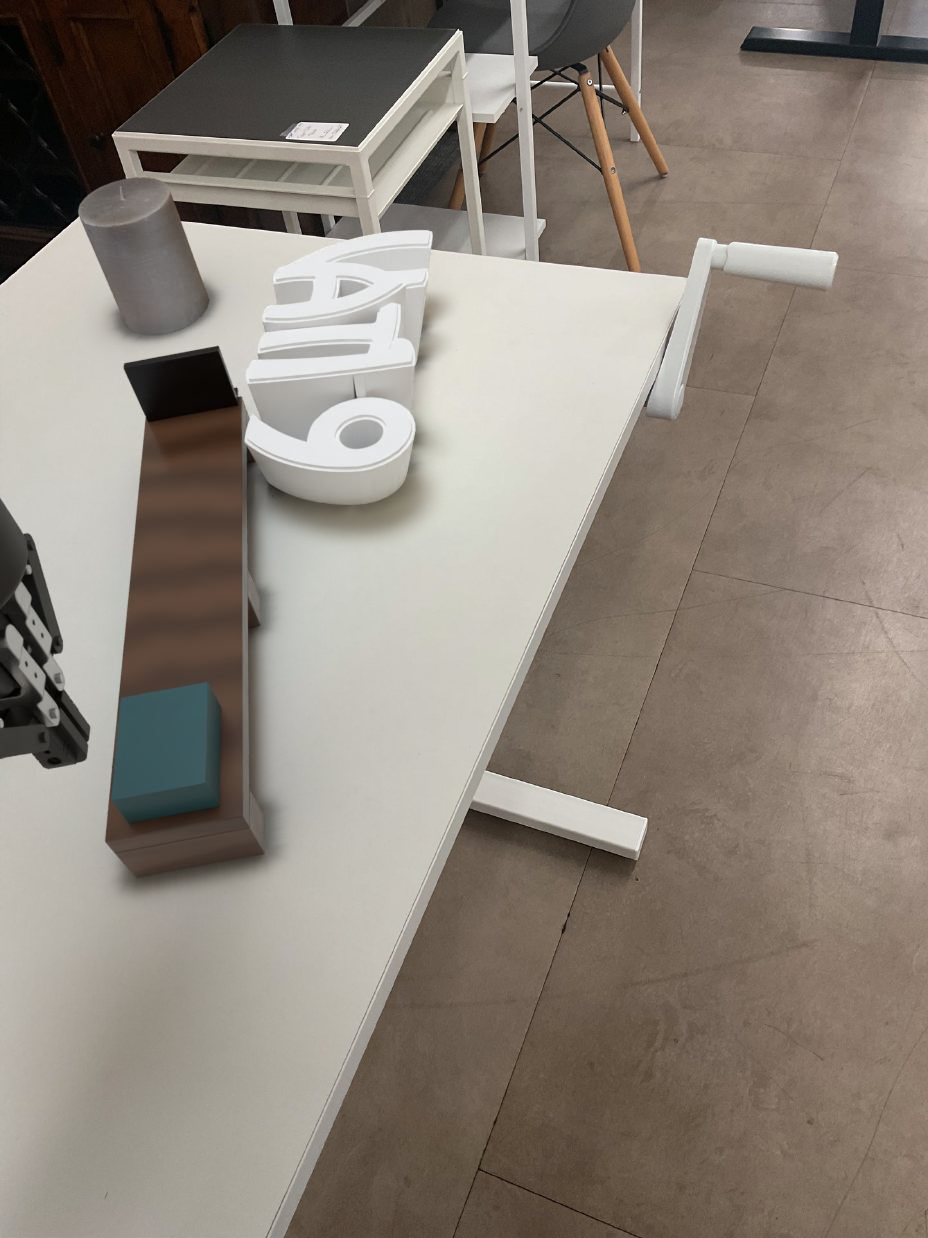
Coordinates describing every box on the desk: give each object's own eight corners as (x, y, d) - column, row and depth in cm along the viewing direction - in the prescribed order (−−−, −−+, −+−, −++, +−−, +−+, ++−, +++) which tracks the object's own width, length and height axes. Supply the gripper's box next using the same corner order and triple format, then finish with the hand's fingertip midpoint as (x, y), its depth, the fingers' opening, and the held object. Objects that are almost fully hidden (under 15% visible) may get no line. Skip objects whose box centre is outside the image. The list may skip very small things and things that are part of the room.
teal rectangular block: (219, 806, 65) (205, 783, 63) (128, 823, 65) (110, 800, 63) (221, 706, 70) (208, 681, 68) (136, 722, 70) (120, 697, 68)
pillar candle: (161, 284, 118) (112, 159, 107) (228, 298, 115) (184, 170, 103) (108, 332, 113) (51, 205, 101) (176, 348, 109) (125, 218, 98)
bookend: (238, 405, 92) (218, 350, 87) (147, 422, 92) (123, 368, 87) (238, 390, 93) (219, 335, 89) (149, 407, 93) (125, 353, 89)
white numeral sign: (311, 308, 111) (287, 218, 103) (458, 300, 109) (446, 208, 101) (239, 538, 89) (202, 448, 81) (422, 535, 87) (402, 442, 79)
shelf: (267, 858, 69) (242, 816, 64) (138, 882, 69) (104, 842, 64) (259, 445, 97) (241, 395, 93) (167, 462, 97) (145, 413, 93)
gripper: (-176, 408, 42) (16, 660, 55) (-283, 660, 33) (-26, 886, 46) (3, 375, 42) (151, 634, 55) (-58, 618, 33) (134, 856, 47)
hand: (70, 749), depth 51 cm, fingers closed
